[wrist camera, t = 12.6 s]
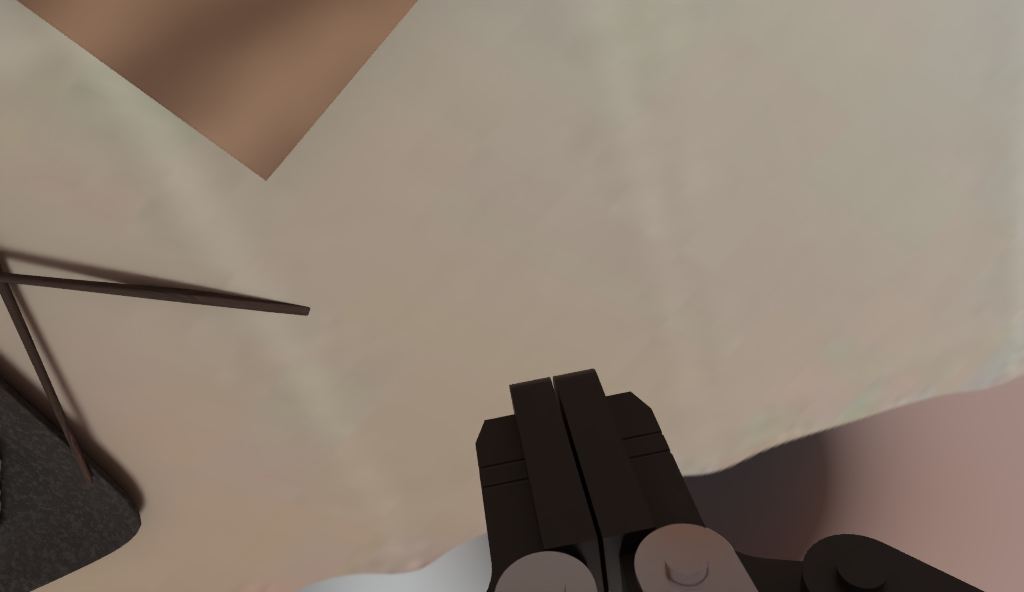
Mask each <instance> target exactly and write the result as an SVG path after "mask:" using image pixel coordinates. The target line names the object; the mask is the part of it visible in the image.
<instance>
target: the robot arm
mask: <svg viewBox="0 0 1024 592" xmlns="http://www.w3.org/2000/svg"><path fill="white" fill-rule="evenodd" d="M553 385H554V388H553ZM553 385H552V381H551V378H550V377H547V378H542V379H537V380H532V381H527V382H522V383H517V384H512V385H509V387H510V393H511V398H512V404H513V409H514V415H509V416H504V417H499V418H494V419H489V420H485V421H484V424H483V426H482V429H481V431H480V434H479V436H478V439H477V441H476V451H477V458H478V466H479V473H480V481H481V488H482V495H483V503H484V510H485V518H486V525H487V533H488V540H489V547H490V555H491V562H492V576H491V581H490V584H489V588H488V590H487V592H984V591H982V590H980V589H978V588H976V587H974V586H972V585H969V584H967V583H965V582H963V581H961V580H959V579H957V578H955V577H953V576H951V575H949V574H947V573H945V572H943V571H941V570H938V569H936V568H934V567H932V566H930V565H928V564H926V563H924V562H922V561H920V560H917V559H916V558H914V557H911V556H909V555H907V554H905V553H903V552H901V551H899V550H897V549H895V548H893V547H891V546H889V545H887V544H884V543H882V542H880V541H877V540H875V539H872V538H869V537H865V536H860V535H854V534H840V535H833V536H829V537H826V538H824V539H822V540H819V541H818V542H817V543H815V544H814V545H813V546H812V547H811V548H810V549H809V550H808V551H807V553H806V555H805V557H804V560H803V561H790V560H778V559H766V558H758V557H753V556H748V555H745V554H742V553H740V552H737V551H735V550H733V548H732V547H731V545H730V544H729V543H728V542H727V541H726V540H725V539H724V538H723V537H721V536H720V535H718V534H717V533H715V532H714V531H712V530H710V529H707V528H706V526H705V524H704V523H703V521H702V519H701V516H700V514H699V512H698V510H697V508H696V506H695V503H694V501H693V499H692V497H691V495H690V493H689V491H688V488H687V486H686V484H685V482H684V479H683V477H682V475H681V473H680V470H679V468H678V466H677V464H676V462H675V459H674V457H673V455H672V454H671V453H670V449H669V446H668V444H667V442H666V440H665V438H664V435H662V432H661V429H660V427H659V424H658V422H657V420H656V418H655V416H654V414H653V411H652V409H651V408H650V407H649V406H648V405H646V404H645V403H644V402H643V401H641V400H640V399H639V398H638V397H637V396H635V395H634V394H633V393H632V392H625V393H620V394H615V395H610V396H605V394H604V391H603V388H602V386H601V383H600V381H599V378H598V375H597V373H596V371H595V369H588V370H583V371H578V372H573V373H568V374H563V375H558V376H553Z"/></svg>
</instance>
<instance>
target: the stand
mask: <svg viewBox="0 0 1024 592" xmlns="http://www.w3.org/2000/svg"><path fill="white" fill-rule="evenodd" d="M17 1H19V2H20V3H21V4H23V5H24V6H26V7H27V8H28V9H30V10H31V11H32V12H34V13H35V14H37V15H38V16H39V17H41V18H42V19H43V20H45V21H46V22H48V23H49V24H50V25H52V26H53V27H55V28H56V29H57V30H59V31H60V32H61V33H63V34H64V35H66V36H67V37H68V38H70V39H71V40H72V41H74V42H75V43H77V44H78V45H79V46H81V47H82V48H84V49H85V50H86V51H88V52H89V53H90V54H92V55H93V56H95V57H96V58H97V59H99V60H100V61H101V62H103V63H104V64H106V65H107V66H108V67H110V68H111V69H112V70H114V71H115V72H117V73H118V74H119V75H121V76H122V77H124V78H125V79H126V80H128V81H129V82H130V83H132V84H133V85H135V86H136V87H137V88H139V89H140V90H141V91H143V92H144V93H146V94H147V95H148V96H150V97H151V98H153V99H154V100H155V101H157V102H158V103H159V104H161V105H162V106H164V107H165V108H166V109H168V110H169V111H170V112H172V113H173V114H175V115H176V116H177V117H179V118H180V119H182V120H183V121H184V122H186V123H187V124H188V125H190V126H191V127H193V128H194V129H195V130H197V131H198V132H199V133H201V134H202V135H204V136H205V137H206V138H208V139H209V140H210V141H212V142H213V143H215V144H216V145H217V146H219V147H220V148H222V149H223V150H224V151H226V152H227V153H228V154H230V155H231V156H233V157H234V158H235V159H237V160H238V161H239V162H241V163H242V164H244V165H245V166H246V167H248V168H249V169H251V170H252V171H253V172H255V173H256V174H257V175H259V176H260V177H262V178H263V179H264V180H266V181H267V179H268V178H269V177H270V176H271V175H272V174H273V172H274V171H275V170H276V169H277V168H278V166H279V165H280V164H281V163H282V162H283V160H284V159H285V158H286V157H287V156H288V154H289V153H290V152H291V151H292V150H293V148H294V147H295V146H296V145H297V144H298V142H299V141H300V140H301V139H302V138H303V137H304V135H305V134H306V133H307V132H308V131H309V129H310V128H311V127H312V126H313V125H314V123H315V122H316V121H317V120H318V119H319V117H320V116H321V115H322V114H323V113H324V111H325V110H326V109H327V108H328V107H329V105H330V104H331V103H332V102H333V101H334V100H335V98H336V97H337V96H338V95H339V94H340V92H341V91H342V90H343V89H344V88H345V86H346V85H347V84H348V83H349V82H350V80H351V79H352V78H353V77H354V76H355V74H356V73H357V72H358V71H359V70H360V69H361V67H362V66H363V65H364V64H365V63H366V61H367V60H368V59H369V58H370V57H371V55H372V54H373V53H374V52H375V51H376V49H377V48H378V47H379V46H380V45H381V43H382V42H383V41H384V40H385V39H386V37H387V36H388V35H389V34H390V33H391V32H392V30H393V29H394V28H395V27H396V26H397V24H398V23H399V22H400V21H401V20H402V18H403V17H404V16H405V15H406V14H407V12H408V11H409V10H410V9H411V8H412V6H413V5H414V4H415V3H416V2H417V0H17Z"/></svg>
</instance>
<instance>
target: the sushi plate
mask: <svg viewBox="0 0 1024 592" xmlns="http://www.w3.org/2000/svg"><path fill="white" fill-rule="evenodd" d="M9 283H16V284H25V285H34V286H44V287H53V288H62V289H70V290H79V291H88V292H96V293H105V294H114V295H122V296H131V297H139V298H148V299H157V300H165V301H174V302H183V303H192V304H202V305H211V306H220V307H229V308H238V309H247V310H257V311H266V312H275V313H285V314H295V315H305V316H306V315H308V314H309V311H310V308H309V307H306V306H300V305H294V304H287V303H280V302H274V301H267V300H260V299H253V298H246V297H240V296H233V295H226V294H219V293H212V292H205V291H196V290H186V289H176V288H164V287H153V286H142V285H130V284H119V283H108V282H96V281H85V280H74V279H63V278H52V277H42V276H31V275H21V274H10V273H4V272H3V269H2V267H1V264H0V294H1V296H2V298H3V301H4V303H5V305H6V307H7V309H8V312H9V314H10V316H11V318H12V320H13V322H14V325H15V327H16V329H17V331H18V333H19V336H20V338H21V340H22V342H23V344H24V346H25V349H26V351H27V353H28V355H29V357H30V360H31V362H32V364H33V366H34V368H35V371H36V373H37V375H38V377H39V379H40V382H41V384H42V386H43V388H44V390H45V393H46V395H47V397H48V399H49V401H50V404H51V406H52V408H53V410H54V412H55V415H56V417H57V419H58V421H59V423H60V426H61V428H62V430H63V432H64V434H65V436H64V435H63V434H62V433H61V432H60V431H59V430H58V429H56V428H55V427H54V426H53V425H52V424H51V423H50V422H49V421H48V420H46V419H45V418H44V417H43V416H42V415H41V414H40V413H39V412H38V411H36V410H35V409H34V408H33V407H32V406H31V405H30V404H29V403H28V402H26V401H25V400H24V399H23V398H22V397H21V396H20V395H19V394H17V393H16V392H15V391H14V390H13V389H12V388H11V387H10V386H9V385H7V384H6V383H5V382H4V381H3V380H2V379H1V378H0V592H30V591H32V590H35V589H37V588H39V587H41V586H44V585H46V584H48V583H50V582H52V581H55V580H57V579H59V578H61V577H63V576H65V575H67V574H70V573H72V572H74V571H76V570H78V569H80V568H82V567H84V566H86V565H88V564H90V563H93V562H95V561H97V560H99V559H101V558H102V557H104V556H106V555H108V554H110V553H112V552H113V551H115V550H117V549H119V548H120V547H122V546H123V545H124V544H126V543H127V542H129V541H130V540H131V539H132V538H133V537H134V536H135V535H136V534H137V532H138V530H139V528H140V526H141V519H140V514H139V512H138V510H137V508H136V506H135V505H134V503H133V502H132V501H131V499H130V498H129V497H128V496H127V494H126V493H125V492H124V491H123V490H122V489H121V488H120V487H119V486H118V485H117V484H116V483H115V482H114V481H113V480H112V479H111V478H110V477H109V476H108V475H107V474H106V473H105V472H104V471H103V470H102V469H100V468H99V467H98V466H97V465H96V464H95V463H94V462H93V461H92V460H91V459H90V458H89V457H87V456H86V455H85V454H84V453H83V452H82V451H81V450H80V449H79V446H78V444H77V442H76V439H75V437H74V435H73V432H72V430H71V428H70V425H69V423H68V421H67V418H66V416H65V414H64V412H63V409H62V407H61V405H60V402H59V400H58V398H57V395H56V393H55V391H54V388H53V386H52V384H51V381H50V379H49V377H48V374H47V372H46V370H45V368H44V365H43V363H42V361H41V358H40V356H39V354H38V351H37V349H36V347H35V344H34V342H33V340H32V337H31V335H30V333H29V330H28V328H27V326H26V323H25V321H24V319H23V316H22V314H21V312H20V309H19V307H18V305H17V302H16V300H15V298H14V295H13V293H12V290H11V288H10V286H9Z"/></svg>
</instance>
